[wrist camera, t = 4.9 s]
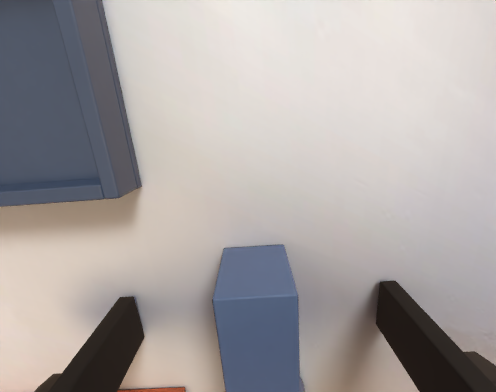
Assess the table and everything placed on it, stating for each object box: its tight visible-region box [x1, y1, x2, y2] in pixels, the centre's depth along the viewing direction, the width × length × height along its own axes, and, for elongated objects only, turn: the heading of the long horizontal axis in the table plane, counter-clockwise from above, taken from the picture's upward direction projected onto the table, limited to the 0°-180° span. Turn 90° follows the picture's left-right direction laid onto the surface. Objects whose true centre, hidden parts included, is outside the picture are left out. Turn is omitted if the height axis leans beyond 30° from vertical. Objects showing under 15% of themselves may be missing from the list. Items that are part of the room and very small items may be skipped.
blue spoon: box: [212, 245, 305, 392], centre depth 11 cm, size 12×5×4 cm, turn 4°
